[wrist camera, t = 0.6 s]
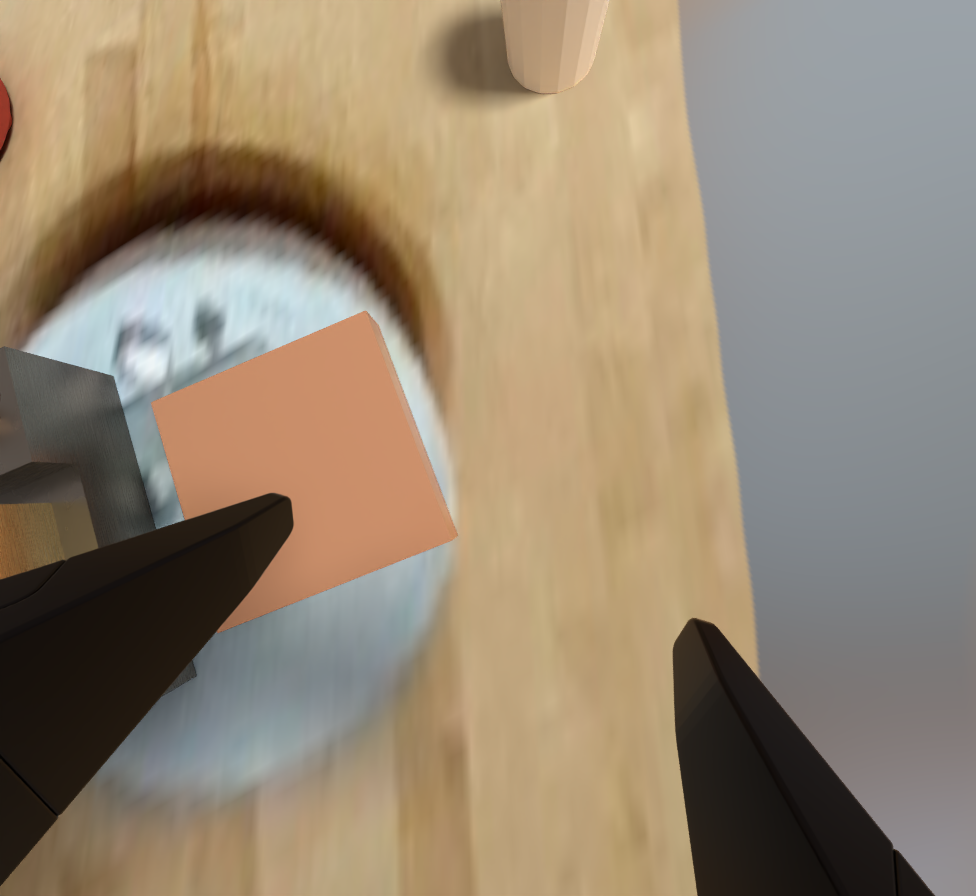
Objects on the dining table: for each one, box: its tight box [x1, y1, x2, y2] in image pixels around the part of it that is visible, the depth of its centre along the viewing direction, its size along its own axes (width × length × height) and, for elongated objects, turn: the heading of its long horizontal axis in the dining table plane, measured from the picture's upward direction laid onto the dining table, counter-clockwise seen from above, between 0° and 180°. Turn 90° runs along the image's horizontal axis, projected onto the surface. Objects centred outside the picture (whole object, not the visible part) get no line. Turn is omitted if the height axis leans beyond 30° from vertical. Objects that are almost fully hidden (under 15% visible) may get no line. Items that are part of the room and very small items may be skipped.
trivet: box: [151, 311, 458, 633], centre depth 23 cm, size 14×14×2 cm
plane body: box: [0, 347, 196, 696], centre depth 21 cm, size 20×9×8 cm, turn 22°
